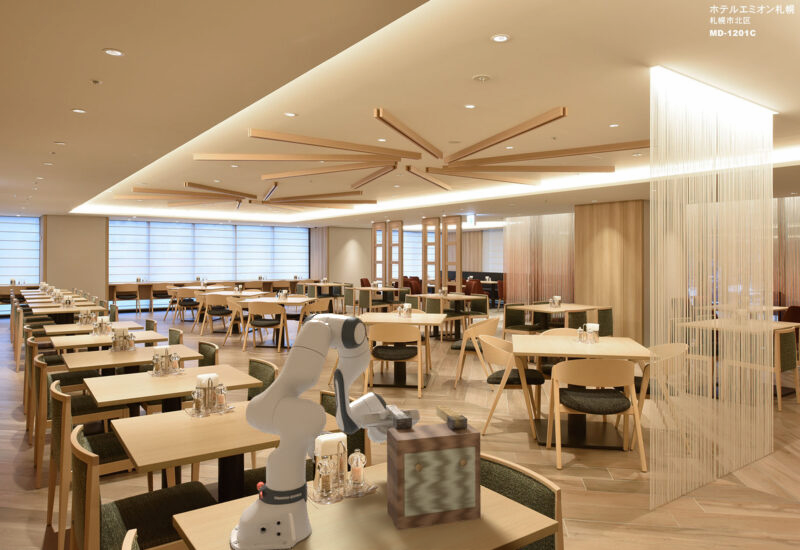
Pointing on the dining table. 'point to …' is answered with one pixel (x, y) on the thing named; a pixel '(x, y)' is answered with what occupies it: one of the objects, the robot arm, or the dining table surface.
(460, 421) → the brass handle
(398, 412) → the steel handle
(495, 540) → the dining table surface
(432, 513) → the wooden box
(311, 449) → the teacup
